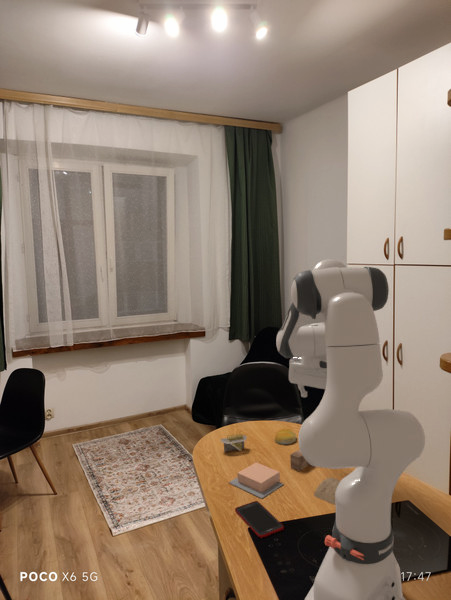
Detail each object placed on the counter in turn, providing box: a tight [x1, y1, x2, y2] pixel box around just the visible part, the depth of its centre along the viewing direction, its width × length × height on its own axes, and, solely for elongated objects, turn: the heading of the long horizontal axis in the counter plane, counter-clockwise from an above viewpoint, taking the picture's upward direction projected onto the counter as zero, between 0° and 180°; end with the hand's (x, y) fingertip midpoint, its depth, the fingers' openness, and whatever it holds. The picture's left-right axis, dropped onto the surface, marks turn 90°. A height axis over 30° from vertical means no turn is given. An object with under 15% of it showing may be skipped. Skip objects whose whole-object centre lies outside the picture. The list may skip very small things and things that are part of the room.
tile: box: [237, 462, 281, 493], centre depth 137 cm, size 3×10×9 cm
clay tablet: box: [313, 477, 341, 506], centre depth 129 cm, size 14×10×3 cm
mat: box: [228, 476, 284, 500], centre depth 136 cm, size 10×14×1 cm
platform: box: [220, 432, 247, 452], centre depth 160 cm, size 12×18×7 cm, turn 105°
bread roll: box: [274, 427, 297, 445], centre depth 167 cm, size 8×9×4 cm
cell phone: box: [234, 500, 284, 539], centre depth 118 cm, size 8×15×1 cm, turn 26°
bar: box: [289, 448, 310, 472], centre depth 149 cm, size 16×4×5 cm, turn 134°
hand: (315, 399), depth 146 cm, fingers open, 8 cm apart
